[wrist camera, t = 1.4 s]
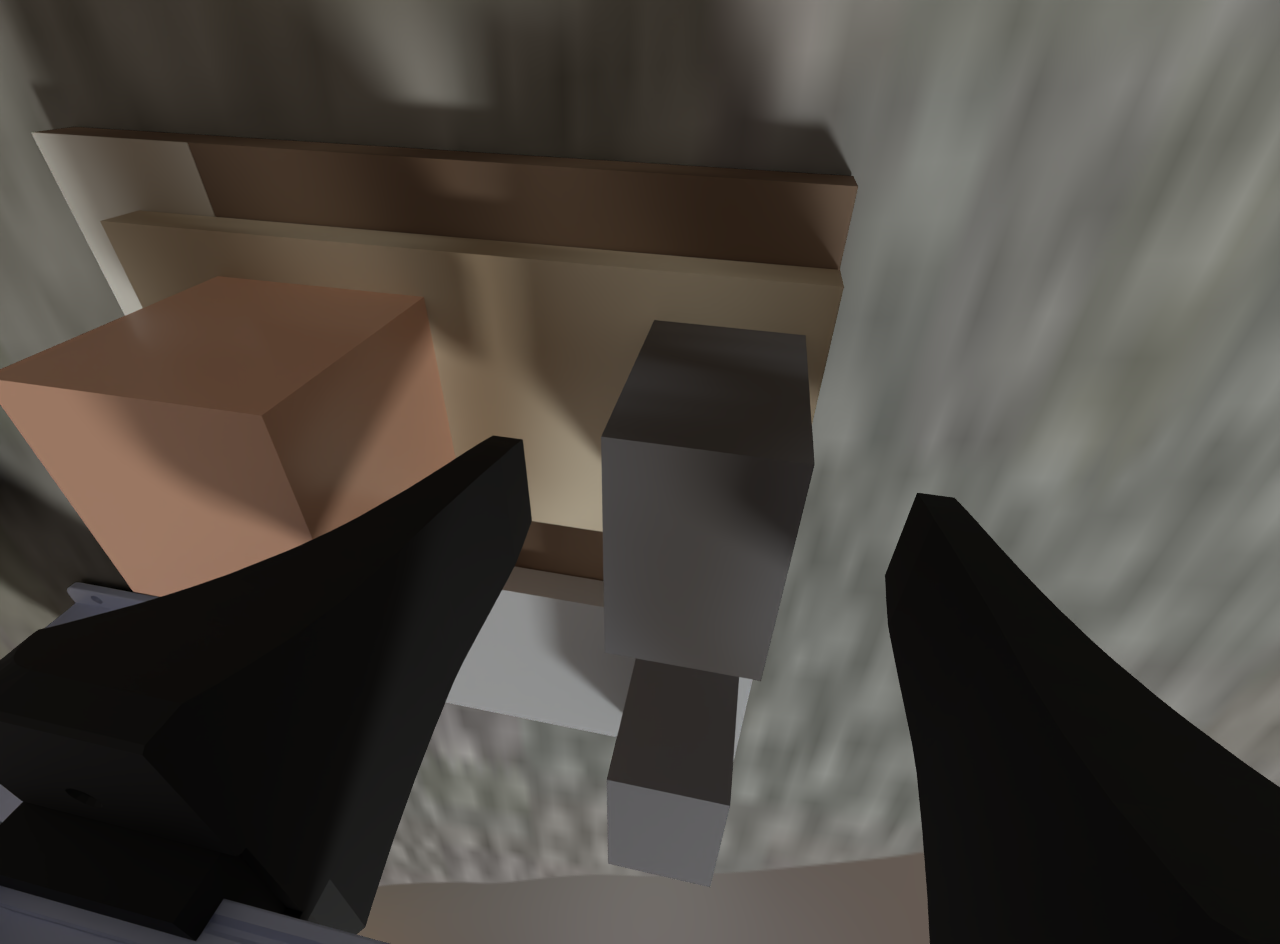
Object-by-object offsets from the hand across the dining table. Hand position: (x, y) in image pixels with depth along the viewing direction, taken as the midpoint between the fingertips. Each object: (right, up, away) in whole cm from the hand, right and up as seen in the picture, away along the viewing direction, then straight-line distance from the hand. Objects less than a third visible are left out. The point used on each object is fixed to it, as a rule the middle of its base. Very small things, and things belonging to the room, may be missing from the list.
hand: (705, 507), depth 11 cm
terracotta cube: (-8, +3, +3) cm, 9 cm away
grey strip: (-6, -5, +10) cm, 12 cm away
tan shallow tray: (-5, +3, +4) cm, 7 cm away
